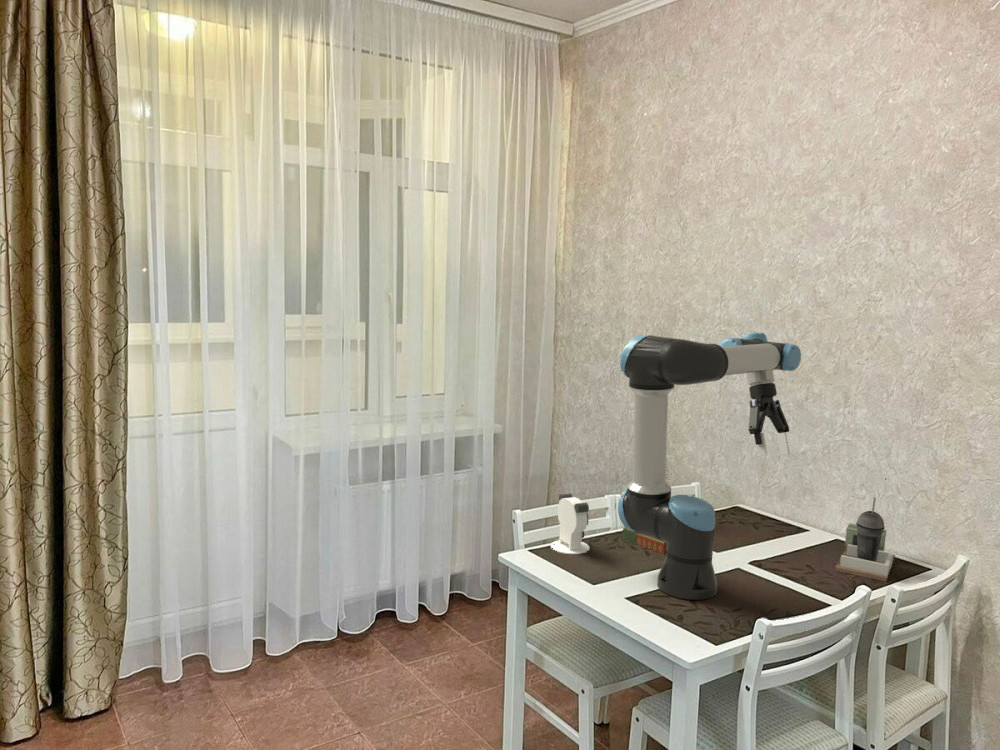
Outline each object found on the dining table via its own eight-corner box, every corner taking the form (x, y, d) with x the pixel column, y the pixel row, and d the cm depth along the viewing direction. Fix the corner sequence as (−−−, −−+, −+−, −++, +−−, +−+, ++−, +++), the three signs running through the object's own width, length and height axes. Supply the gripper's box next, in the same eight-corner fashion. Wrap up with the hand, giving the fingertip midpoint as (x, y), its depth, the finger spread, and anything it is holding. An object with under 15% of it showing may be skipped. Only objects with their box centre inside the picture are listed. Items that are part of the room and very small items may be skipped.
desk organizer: (886, 581, 212) (889, 553, 210) (835, 570, 218) (837, 543, 217) (894, 558, 230) (897, 532, 229) (847, 548, 236) (849, 523, 235)
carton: (663, 556, 226) (664, 541, 226) (621, 540, 238) (622, 526, 238) (681, 549, 232) (681, 536, 231) (639, 534, 244) (639, 521, 243)
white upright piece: (597, 552, 226) (600, 502, 224) (563, 557, 222) (566, 506, 220) (576, 538, 237) (579, 491, 235) (544, 543, 232) (546, 494, 230)
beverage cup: (874, 560, 224) (881, 493, 221) (884, 570, 217) (892, 501, 214) (848, 558, 225) (855, 491, 222) (857, 568, 218) (864, 499, 215)
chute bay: (887, 576, 213) (888, 565, 212) (840, 566, 219) (841, 556, 219) (892, 563, 223) (893, 553, 222) (846, 553, 229) (847, 543, 229)
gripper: (770, 388, 244) (782, 455, 241) (728, 385, 227) (740, 458, 224) (793, 383, 239) (805, 452, 235) (752, 380, 222) (764, 454, 218)
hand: (773, 455), depth 229 cm, fingers open, 13 cm apart
